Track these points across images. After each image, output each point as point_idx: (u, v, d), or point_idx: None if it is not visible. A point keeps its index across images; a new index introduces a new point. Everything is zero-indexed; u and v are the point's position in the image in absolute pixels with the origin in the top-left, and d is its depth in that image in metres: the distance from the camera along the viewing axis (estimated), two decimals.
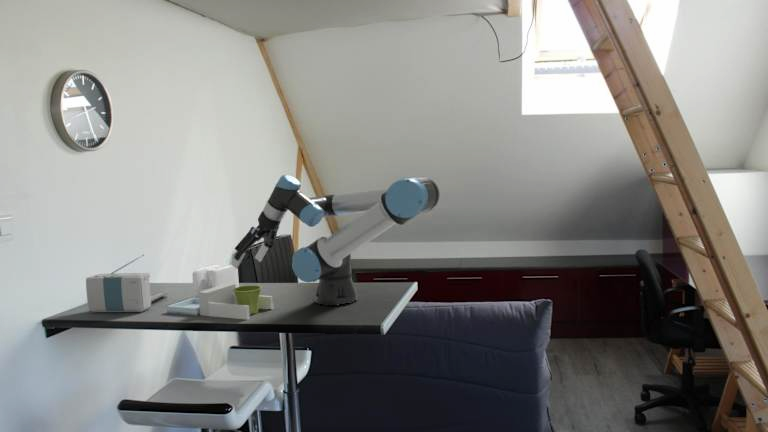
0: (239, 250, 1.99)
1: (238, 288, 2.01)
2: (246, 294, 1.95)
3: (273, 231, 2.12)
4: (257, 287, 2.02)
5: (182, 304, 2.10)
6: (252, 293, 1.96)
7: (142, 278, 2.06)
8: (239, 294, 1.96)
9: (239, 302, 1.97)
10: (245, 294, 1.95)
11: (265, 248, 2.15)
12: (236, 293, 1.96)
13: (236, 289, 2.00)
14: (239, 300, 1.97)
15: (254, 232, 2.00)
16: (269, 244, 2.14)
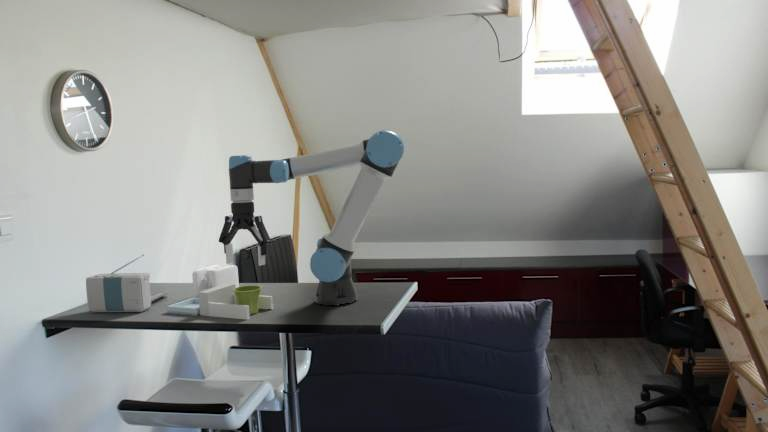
0: (269, 240, 1.94)
1: (238, 288, 2.01)
2: (246, 294, 1.95)
3: (230, 223, 2.00)
4: (257, 287, 2.02)
5: (182, 304, 2.10)
6: (252, 293, 1.96)
7: (142, 278, 2.06)
8: (239, 294, 1.96)
9: (239, 302, 1.97)
10: (245, 294, 1.95)
11: (231, 245, 2.02)
12: (236, 293, 1.96)
13: (236, 289, 2.00)
14: (239, 300, 1.97)
15: (261, 218, 1.95)
16: None
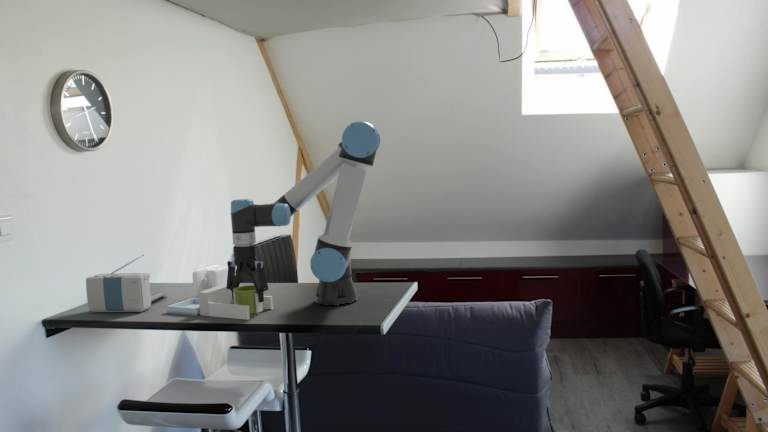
0: (267, 287, 1.97)
1: (238, 288, 2.01)
2: (246, 294, 1.95)
3: (234, 268, 2.01)
4: None
5: (182, 304, 2.10)
6: (252, 293, 1.96)
7: (142, 278, 2.06)
8: (239, 294, 1.95)
9: (239, 302, 1.97)
10: (245, 294, 1.95)
11: None
12: (236, 293, 1.96)
13: (236, 289, 2.00)
14: (239, 300, 1.97)
15: (263, 265, 1.96)
16: None
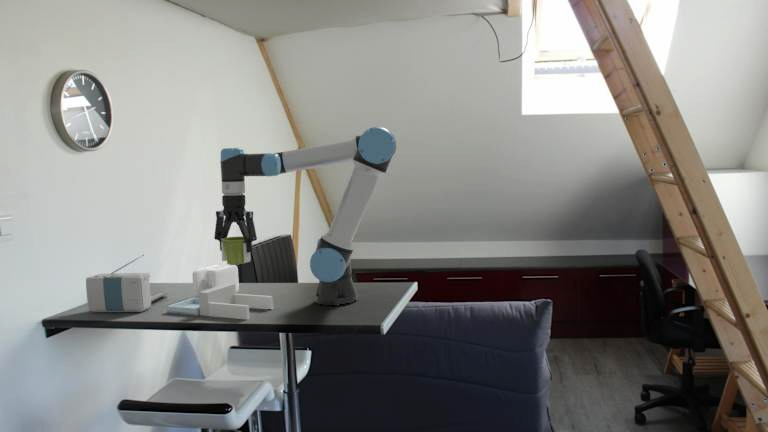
0: (255, 237, 1.96)
1: (226, 238, 2.00)
2: (234, 244, 1.94)
3: (222, 218, 2.00)
4: None
5: (182, 304, 2.10)
6: (240, 243, 1.95)
7: (142, 278, 2.06)
8: (227, 243, 1.94)
9: (227, 252, 1.96)
10: (233, 243, 1.94)
11: None
12: (224, 242, 1.95)
13: (224, 239, 1.99)
14: (227, 249, 1.95)
15: (252, 214, 1.95)
16: None
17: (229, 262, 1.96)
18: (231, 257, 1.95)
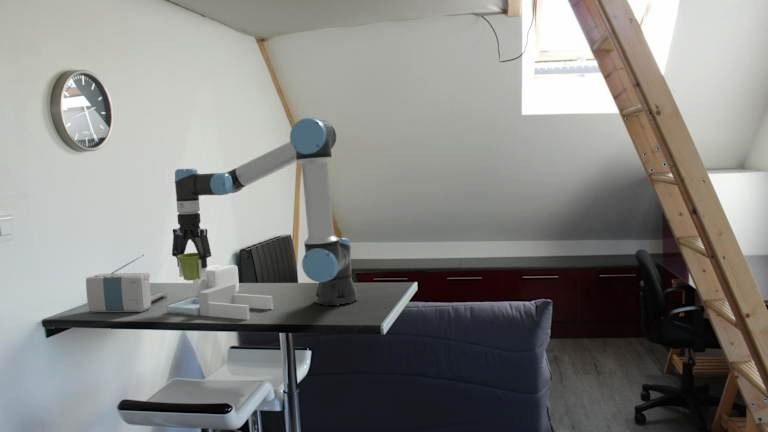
0: (209, 254, 2.04)
1: (183, 255, 2.08)
2: (189, 260, 2.02)
3: (179, 236, 2.08)
4: None
5: (182, 304, 2.10)
6: (195, 259, 2.03)
7: (142, 278, 2.06)
8: (182, 260, 2.02)
9: (183, 268, 2.04)
10: (188, 260, 2.02)
11: None
12: (180, 259, 2.03)
13: (181, 256, 2.07)
14: (183, 266, 2.03)
15: (206, 232, 2.03)
16: None
17: (185, 278, 2.04)
18: (187, 273, 2.03)
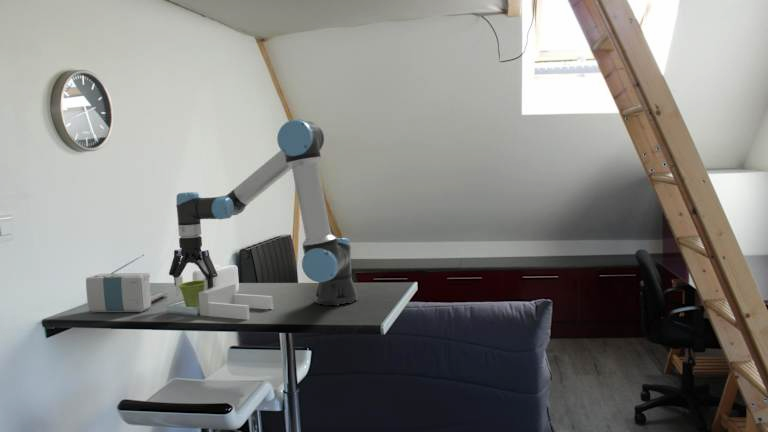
0: (216, 274, 2.03)
1: (184, 284, 2.09)
2: (191, 289, 2.03)
3: (179, 257, 2.09)
4: (203, 282, 2.10)
5: (182, 304, 2.10)
6: (196, 288, 2.03)
7: (142, 278, 2.06)
8: (184, 289, 2.03)
9: (184, 297, 2.04)
10: (189, 289, 2.03)
11: (181, 278, 2.10)
12: (181, 288, 2.04)
13: (182, 285, 2.08)
14: (184, 295, 2.04)
15: (208, 253, 2.04)
16: None
17: None
18: (189, 301, 2.04)
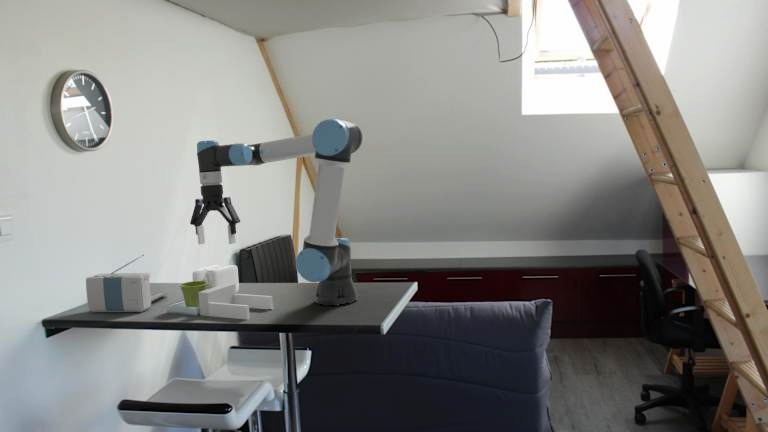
0: (238, 219, 2.06)
1: (185, 284, 2.09)
2: (192, 289, 2.03)
3: (200, 206, 2.12)
4: (204, 283, 2.10)
5: (182, 304, 2.10)
6: (197, 288, 2.04)
7: (142, 278, 2.06)
8: (185, 289, 2.03)
9: (185, 297, 2.04)
10: (190, 289, 2.03)
11: (202, 227, 2.13)
12: (182, 288, 2.04)
13: (183, 284, 2.08)
14: (185, 295, 2.04)
15: (229, 199, 2.07)
16: None
17: None
18: (189, 302, 2.04)
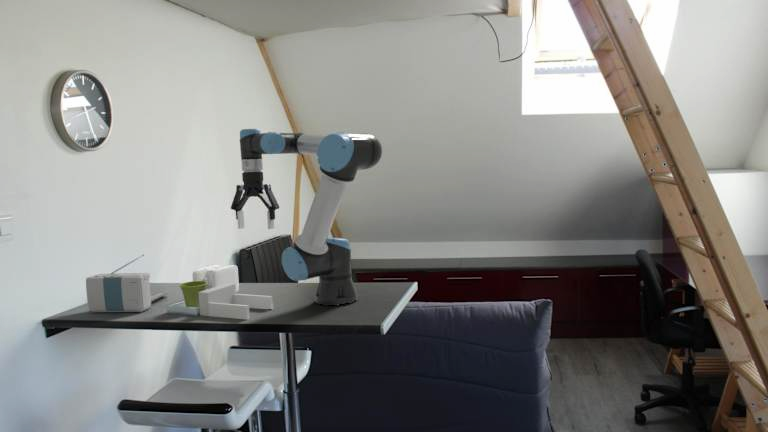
0: (278, 206, 2.14)
1: (185, 284, 2.09)
2: (192, 290, 2.03)
3: (241, 192, 2.20)
4: (204, 283, 2.10)
5: (182, 304, 2.10)
6: (197, 288, 2.03)
7: (142, 278, 2.06)
8: (185, 289, 2.03)
9: (185, 297, 2.04)
10: (190, 289, 2.03)
11: (242, 212, 2.21)
12: (182, 288, 2.04)
13: (183, 284, 2.08)
14: (185, 295, 2.04)
15: (270, 186, 2.14)
16: None
17: None
18: (189, 302, 2.04)
